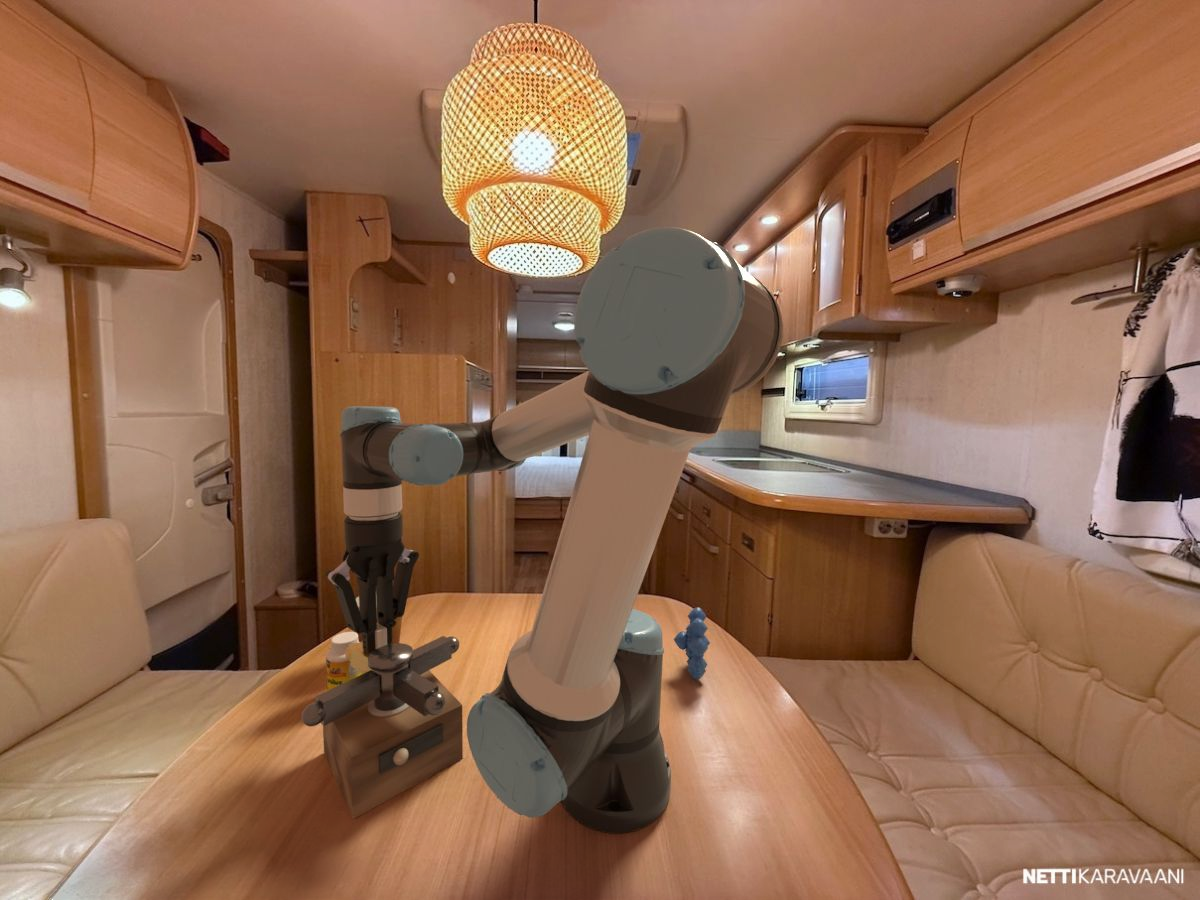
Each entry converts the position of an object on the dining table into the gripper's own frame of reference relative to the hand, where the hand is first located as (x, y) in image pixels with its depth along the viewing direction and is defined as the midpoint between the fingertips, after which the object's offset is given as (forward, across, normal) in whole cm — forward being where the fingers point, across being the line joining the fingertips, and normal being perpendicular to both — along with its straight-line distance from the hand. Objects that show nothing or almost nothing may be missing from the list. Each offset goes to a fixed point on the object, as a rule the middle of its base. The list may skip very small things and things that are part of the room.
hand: (378, 668), depth 67 cm
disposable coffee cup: (+10, -11, -19) cm, 24 cm away
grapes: (+10, -43, +32) cm, 55 cm away
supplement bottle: (+10, -1, -13) cm, 16 cm away
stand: (+10, +2, +6) cm, 12 cm away
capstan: (+2, +1, +6) cm, 7 cm away
